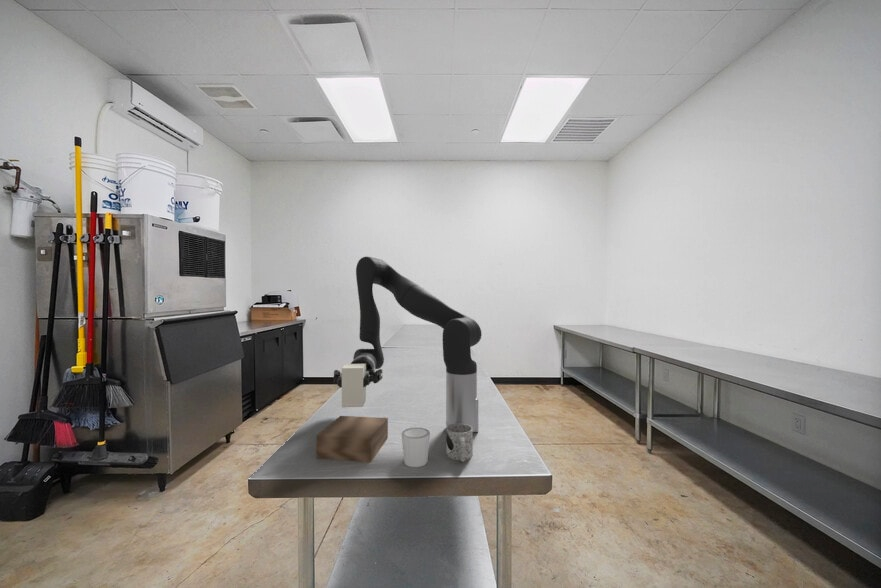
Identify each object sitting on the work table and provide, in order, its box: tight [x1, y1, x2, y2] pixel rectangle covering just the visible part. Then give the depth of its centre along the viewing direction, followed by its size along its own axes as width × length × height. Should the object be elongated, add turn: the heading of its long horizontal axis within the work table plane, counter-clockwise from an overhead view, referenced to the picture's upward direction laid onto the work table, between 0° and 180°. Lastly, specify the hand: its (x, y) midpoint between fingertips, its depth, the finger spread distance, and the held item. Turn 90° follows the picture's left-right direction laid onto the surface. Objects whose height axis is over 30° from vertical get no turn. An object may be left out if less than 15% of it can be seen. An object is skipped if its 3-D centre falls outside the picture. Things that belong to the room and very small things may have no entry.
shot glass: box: [401, 427, 431, 468], centre depth 83 cm, size 7×7×7 cm
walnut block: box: [315, 415, 389, 463], centre depth 91 cm, size 14×14×6 cm
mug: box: [445, 423, 474, 463], centre depth 85 cm, size 10×7×7 cm, turn 4°
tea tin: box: [341, 363, 367, 408], centre depth 91 cm, size 5×5×10 cm
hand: (352, 383), depth 88 cm, fingers closed on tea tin, 5 cm apart
